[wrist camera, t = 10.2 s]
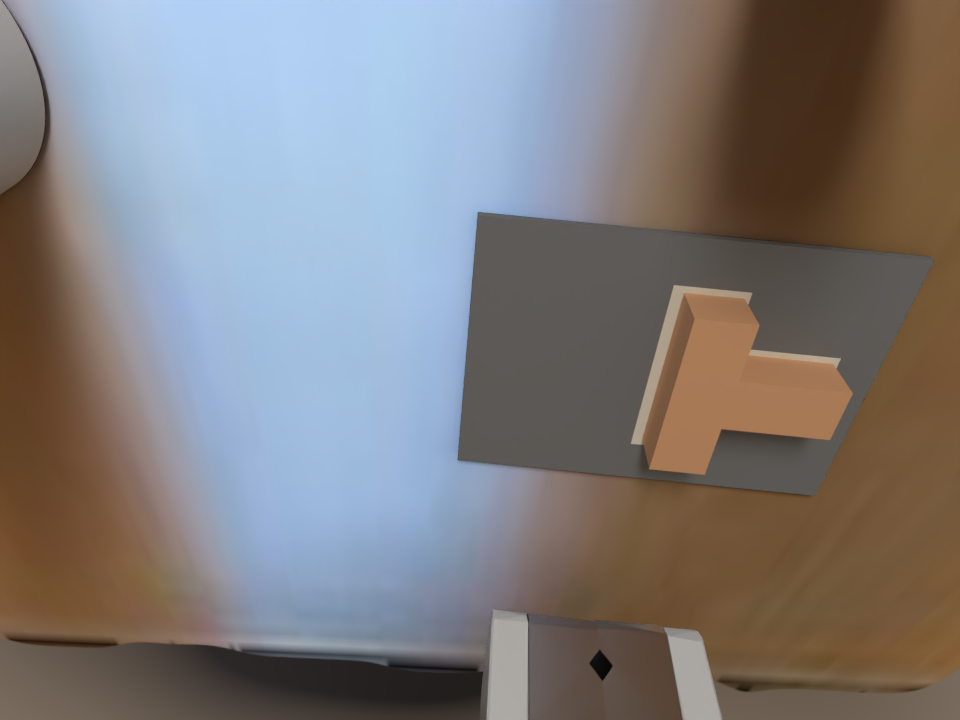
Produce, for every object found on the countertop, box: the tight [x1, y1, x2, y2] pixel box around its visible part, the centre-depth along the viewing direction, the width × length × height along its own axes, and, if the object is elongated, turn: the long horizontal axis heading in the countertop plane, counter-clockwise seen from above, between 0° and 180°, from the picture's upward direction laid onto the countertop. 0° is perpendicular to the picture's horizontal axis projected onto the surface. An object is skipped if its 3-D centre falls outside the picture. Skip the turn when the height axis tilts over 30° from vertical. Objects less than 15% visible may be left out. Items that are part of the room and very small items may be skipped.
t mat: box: [458, 212, 934, 496], centre depth 42 cm, size 25×18×1 cm
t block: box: [643, 293, 853, 475], centre depth 40 cm, size 10×11×3 cm
